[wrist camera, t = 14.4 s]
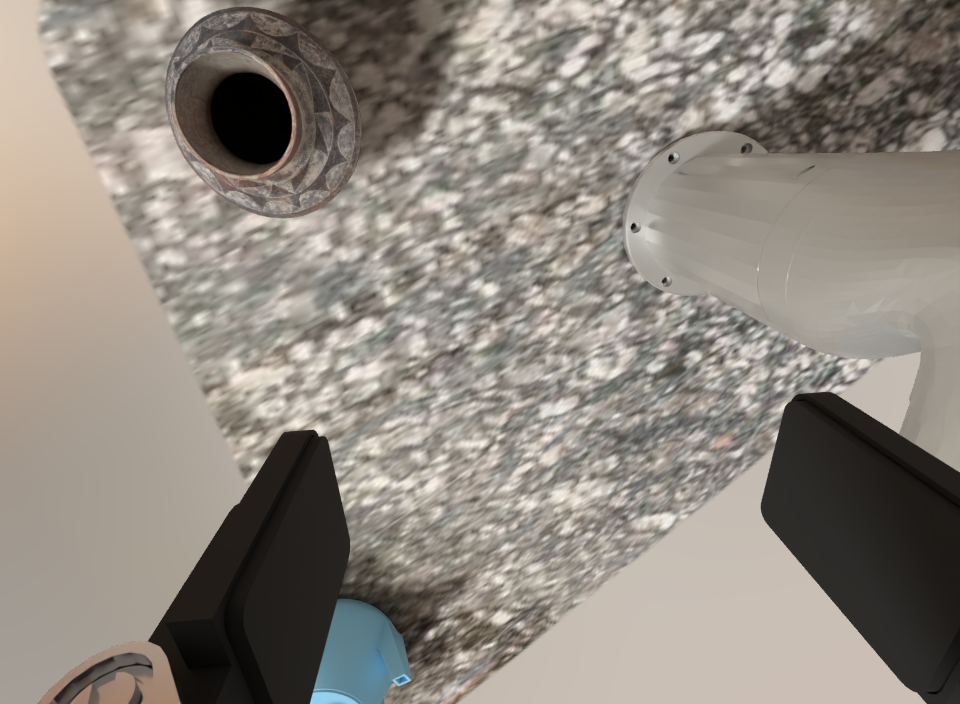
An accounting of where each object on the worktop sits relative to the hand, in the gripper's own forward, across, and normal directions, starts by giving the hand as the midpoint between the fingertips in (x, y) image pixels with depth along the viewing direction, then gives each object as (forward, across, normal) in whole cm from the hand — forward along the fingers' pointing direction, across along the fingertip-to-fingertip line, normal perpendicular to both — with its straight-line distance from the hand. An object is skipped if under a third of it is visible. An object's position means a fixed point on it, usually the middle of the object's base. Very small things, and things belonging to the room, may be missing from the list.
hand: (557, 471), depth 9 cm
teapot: (+30, +19, +46) cm, 58 cm away
